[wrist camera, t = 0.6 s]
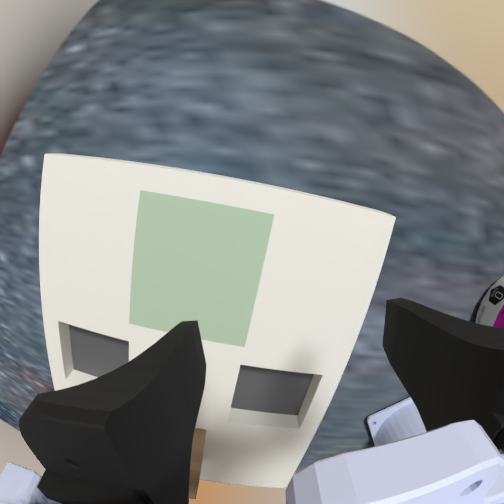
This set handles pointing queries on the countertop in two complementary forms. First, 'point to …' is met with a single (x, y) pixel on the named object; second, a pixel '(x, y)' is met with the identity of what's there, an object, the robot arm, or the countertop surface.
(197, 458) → the walnut block
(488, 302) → the supplement can
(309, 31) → the countertop surface
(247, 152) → the countertop surface
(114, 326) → the board
